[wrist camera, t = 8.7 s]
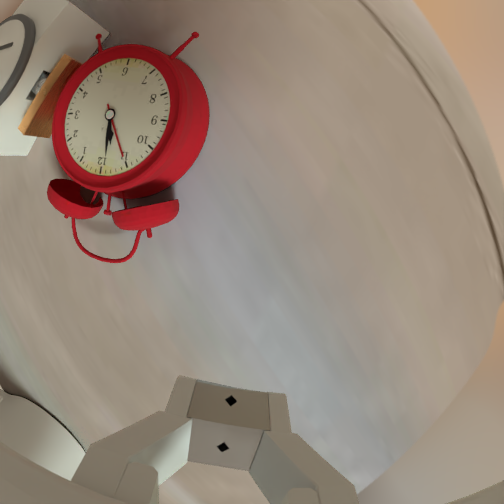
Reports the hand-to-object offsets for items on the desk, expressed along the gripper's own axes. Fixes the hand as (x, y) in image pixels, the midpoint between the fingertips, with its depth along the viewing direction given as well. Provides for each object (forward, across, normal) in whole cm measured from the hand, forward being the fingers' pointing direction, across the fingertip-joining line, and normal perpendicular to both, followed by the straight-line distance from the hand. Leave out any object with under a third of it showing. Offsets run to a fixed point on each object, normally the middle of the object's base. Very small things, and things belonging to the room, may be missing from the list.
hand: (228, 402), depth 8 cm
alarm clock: (+13, +9, -7) cm, 18 cm away
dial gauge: (+13, +19, -12) cm, 26 cm away
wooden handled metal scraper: (+12, +18, -11) cm, 24 cm away
